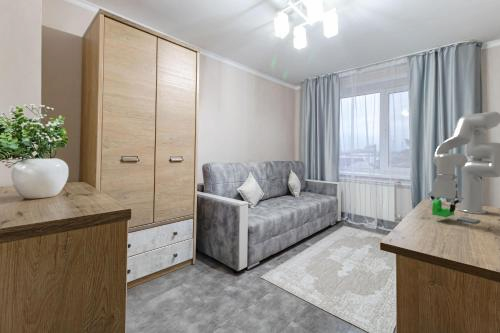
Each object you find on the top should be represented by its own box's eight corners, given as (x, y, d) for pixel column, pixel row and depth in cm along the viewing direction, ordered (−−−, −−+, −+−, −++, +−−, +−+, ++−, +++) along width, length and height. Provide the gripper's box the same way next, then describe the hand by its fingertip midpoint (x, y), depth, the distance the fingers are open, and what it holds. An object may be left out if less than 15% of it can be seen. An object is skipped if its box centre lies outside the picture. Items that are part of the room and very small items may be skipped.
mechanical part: (445, 217, 119) (446, 202, 118) (432, 214, 124) (432, 200, 123) (455, 213, 125) (456, 199, 124) (442, 211, 130) (443, 197, 129)
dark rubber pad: (463, 218, 128) (463, 216, 128) (480, 221, 122) (480, 220, 122) (456, 220, 124) (456, 218, 124) (474, 223, 118) (474, 222, 118)
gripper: (469, 178, 117) (468, 212, 118) (430, 175, 132) (429, 205, 133) (463, 179, 113) (461, 215, 115) (423, 176, 128) (422, 207, 130)
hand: (444, 209), depth 124 cm, fingers closed on mechanical part, 6 cm apart
